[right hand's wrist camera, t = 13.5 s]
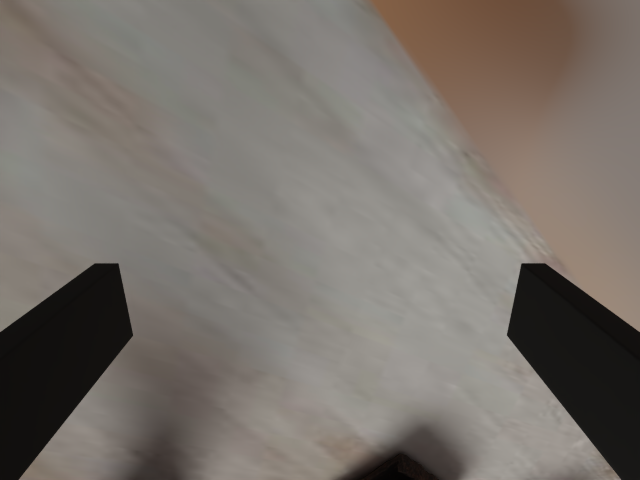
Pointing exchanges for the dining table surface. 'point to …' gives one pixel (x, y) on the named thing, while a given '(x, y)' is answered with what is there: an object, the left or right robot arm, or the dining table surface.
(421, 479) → the dark brown irregular piece
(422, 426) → the dining table surface
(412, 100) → the dining table surface
